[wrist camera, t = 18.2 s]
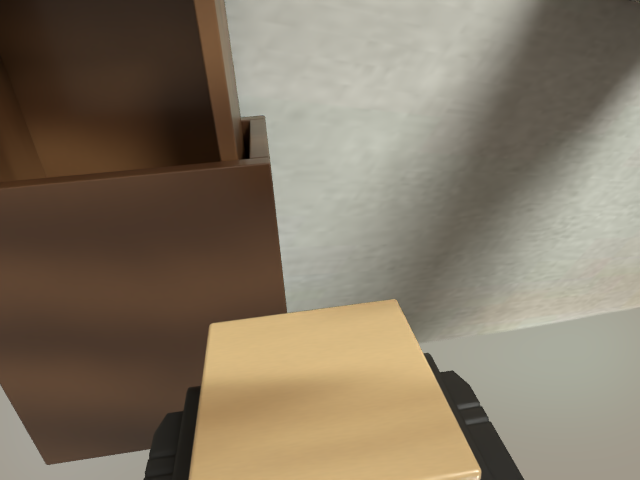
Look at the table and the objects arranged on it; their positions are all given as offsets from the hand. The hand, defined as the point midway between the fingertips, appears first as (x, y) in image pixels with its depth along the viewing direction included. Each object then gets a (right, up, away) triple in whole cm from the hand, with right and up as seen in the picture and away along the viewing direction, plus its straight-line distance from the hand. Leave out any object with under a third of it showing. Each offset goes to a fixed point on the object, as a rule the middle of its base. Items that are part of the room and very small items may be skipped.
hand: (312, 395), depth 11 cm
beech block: (0, 0, 0) cm, 1 cm away
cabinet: (-10, +4, +19) cm, 22 cm away
